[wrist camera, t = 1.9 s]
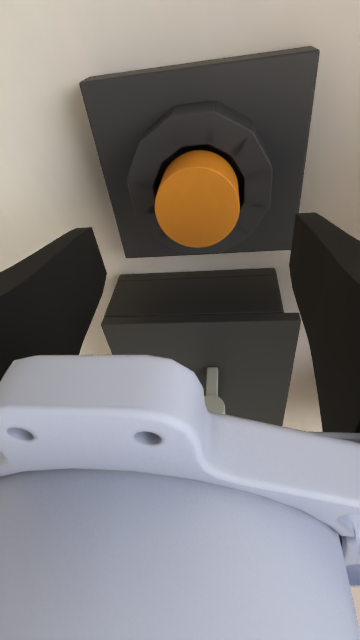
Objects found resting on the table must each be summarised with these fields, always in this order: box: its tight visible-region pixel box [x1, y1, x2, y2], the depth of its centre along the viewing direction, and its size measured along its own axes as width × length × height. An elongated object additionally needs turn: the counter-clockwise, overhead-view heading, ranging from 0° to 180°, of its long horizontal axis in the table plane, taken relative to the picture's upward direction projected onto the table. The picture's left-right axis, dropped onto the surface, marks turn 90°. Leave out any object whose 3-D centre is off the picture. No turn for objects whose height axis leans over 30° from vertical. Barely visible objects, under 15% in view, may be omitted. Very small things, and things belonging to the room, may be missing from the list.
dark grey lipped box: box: [104, 268, 284, 317], centre depth 25 cm, size 11×13×4 cm
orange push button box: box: [80, 46, 320, 258], centre depth 17 cm, size 10×9×4 cm
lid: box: [101, 313, 301, 426], centre depth 22 cm, size 11×13×4 cm
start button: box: [155, 150, 240, 248], centre depth 15 cm, size 4×4×2 cm
